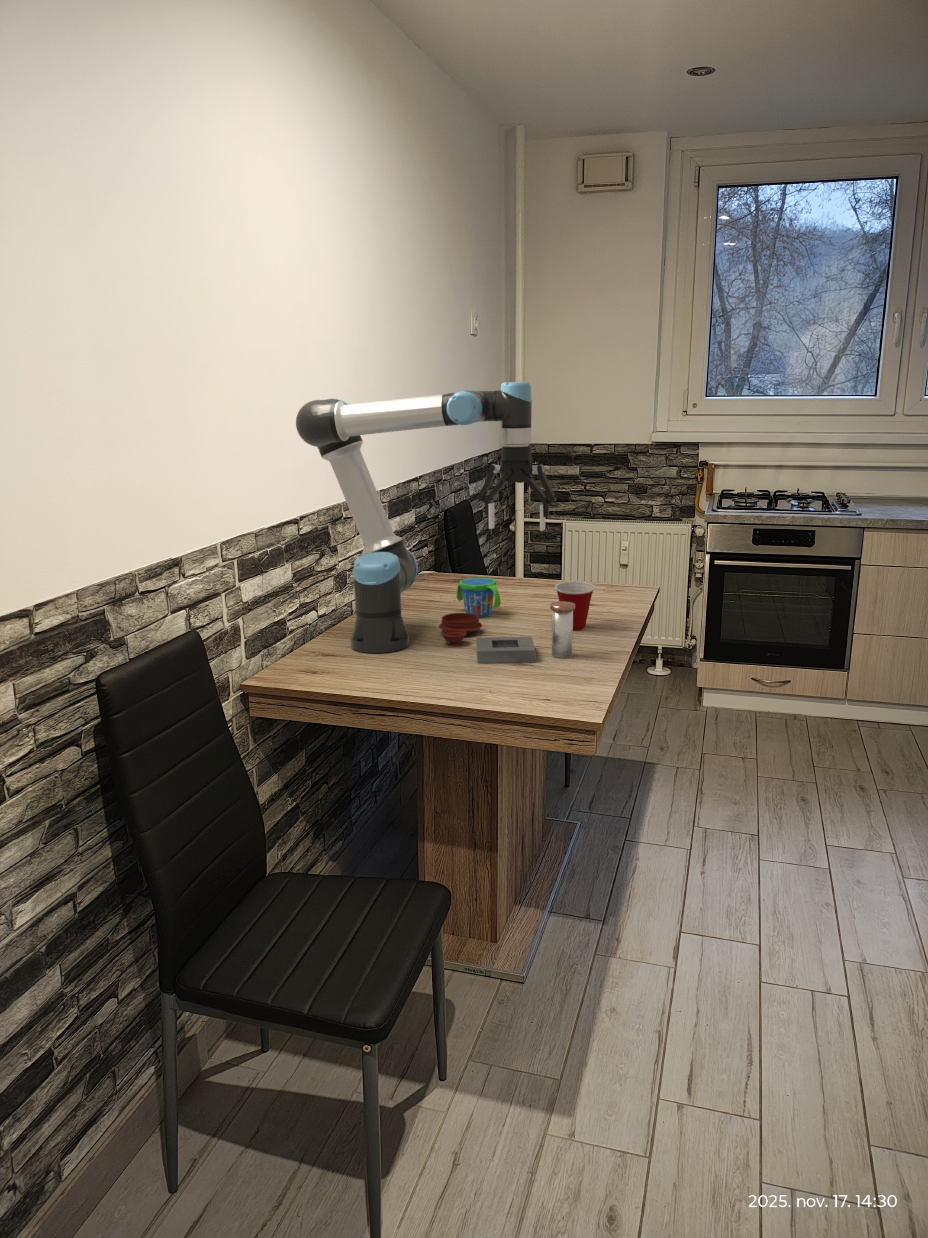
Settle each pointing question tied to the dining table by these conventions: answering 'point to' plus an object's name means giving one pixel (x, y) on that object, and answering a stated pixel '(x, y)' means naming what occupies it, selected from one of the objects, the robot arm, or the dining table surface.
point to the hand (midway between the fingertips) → (516, 529)
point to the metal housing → (505, 649)
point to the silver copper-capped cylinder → (562, 629)
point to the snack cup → (478, 595)
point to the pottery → (458, 626)
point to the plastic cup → (576, 599)
